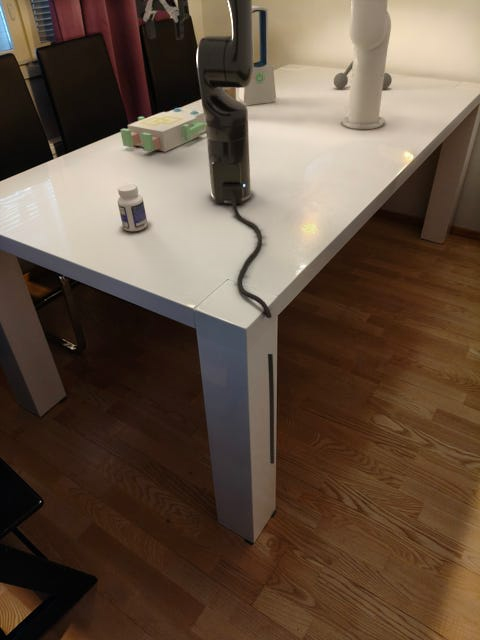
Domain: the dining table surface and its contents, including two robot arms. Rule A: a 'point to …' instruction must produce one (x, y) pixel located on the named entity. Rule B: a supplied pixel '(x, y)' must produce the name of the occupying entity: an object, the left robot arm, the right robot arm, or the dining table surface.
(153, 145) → the decorative block
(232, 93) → the block
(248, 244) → the dining table surface
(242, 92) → the electronic device
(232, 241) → the dining table surface
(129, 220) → the pill bottle
